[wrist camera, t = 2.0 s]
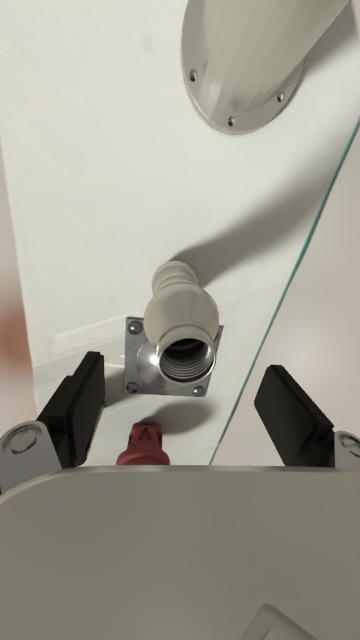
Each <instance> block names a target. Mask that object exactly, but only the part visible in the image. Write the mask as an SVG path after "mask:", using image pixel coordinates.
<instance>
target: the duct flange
mask: <svg viewBox="0 0 360 640" xmlns="http://www.w3.org/2000/svg"><path fill="white" fill-rule="evenodd" d="M143 320H144V319H135V318H126V337H125V380H124V393H136V394H155V395H174V396H193V397H205V393H206V389H207V385H208V381H209V377H210V374H209V375H208V376H207V377H206V378H205V379H203V380H201V381H199V382H197V383H194V384H190V385H178V384H174V383H171V382H169V381H168V380H166V379H165V378H164V377H163V376H162V375H161V373H160V371H159V369H158V364H157V350H156V349H155V348H153V346H152V345H151V344H150V342H149V340H148V338H147V336H146V333H145V330H144V326H143ZM221 330H222V327H218V331H217V334H216V336H215V338H214V340H213V342H214V348H215V351H216V349H217V345H218V341H219V338H220V334H221Z"/></svg>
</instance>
